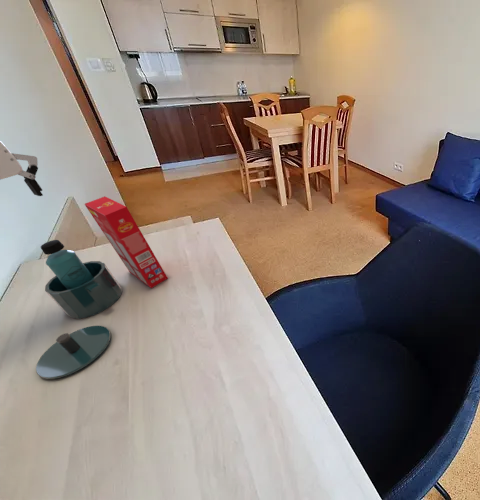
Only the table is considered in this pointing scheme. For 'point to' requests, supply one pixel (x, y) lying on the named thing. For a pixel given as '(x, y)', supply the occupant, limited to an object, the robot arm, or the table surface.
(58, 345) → the lid
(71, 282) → the beverage bottle
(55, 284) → the pot
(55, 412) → the table surface
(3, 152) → the robot arm
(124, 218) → the food packaging
